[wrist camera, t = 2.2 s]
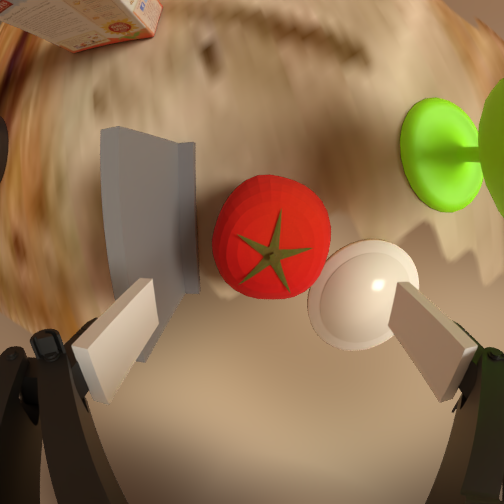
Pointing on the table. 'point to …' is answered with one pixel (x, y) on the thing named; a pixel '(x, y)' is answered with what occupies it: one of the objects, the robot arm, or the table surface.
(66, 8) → the cracker box
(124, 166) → the grey board
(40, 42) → the table surface
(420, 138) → the wineglass
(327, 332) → the plate
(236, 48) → the table surface
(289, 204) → the tomato
